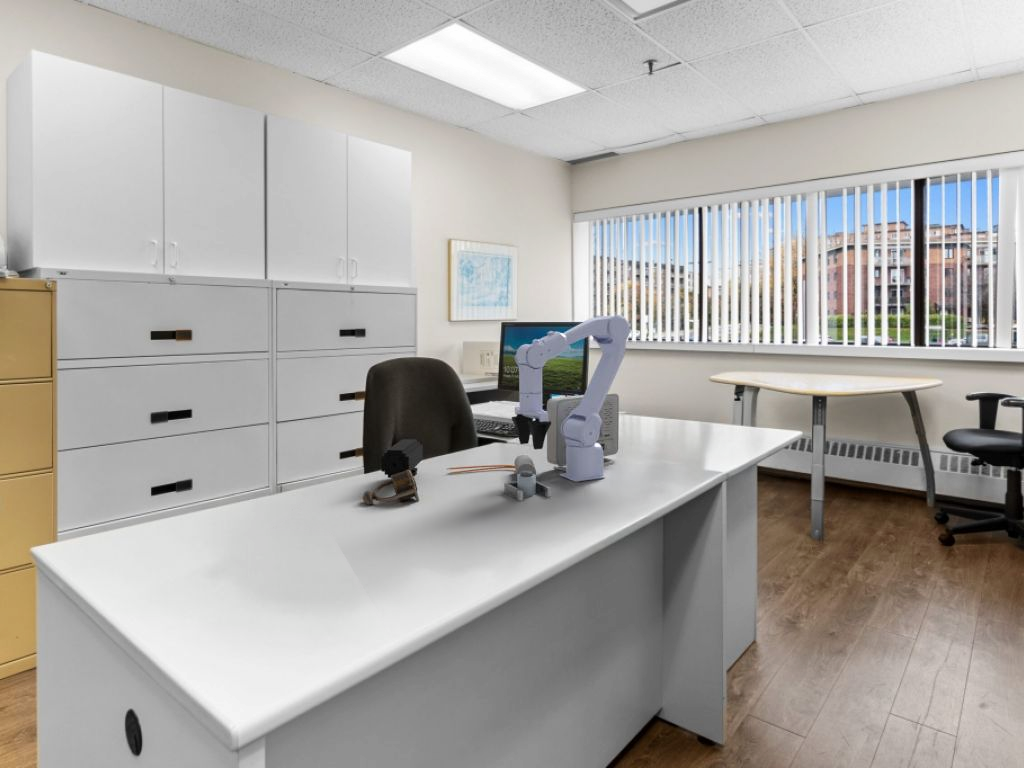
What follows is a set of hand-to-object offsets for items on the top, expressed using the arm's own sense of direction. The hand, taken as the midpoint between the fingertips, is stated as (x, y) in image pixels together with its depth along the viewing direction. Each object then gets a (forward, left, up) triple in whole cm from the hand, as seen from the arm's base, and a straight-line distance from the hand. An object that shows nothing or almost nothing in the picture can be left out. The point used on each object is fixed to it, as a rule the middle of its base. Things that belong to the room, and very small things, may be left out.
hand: (531, 446), depth 158 cm
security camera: (+28, -18, -10) cm, 35 cm away
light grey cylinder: (+5, +7, -10) cm, 13 cm away
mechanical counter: (+35, -2, -10) cm, 37 cm away
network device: (-24, -13, -10) cm, 29 cm away
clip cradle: (+5, +7, -10) cm, 13 cm away
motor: (+7, -10, -10) cm, 16 cm away
